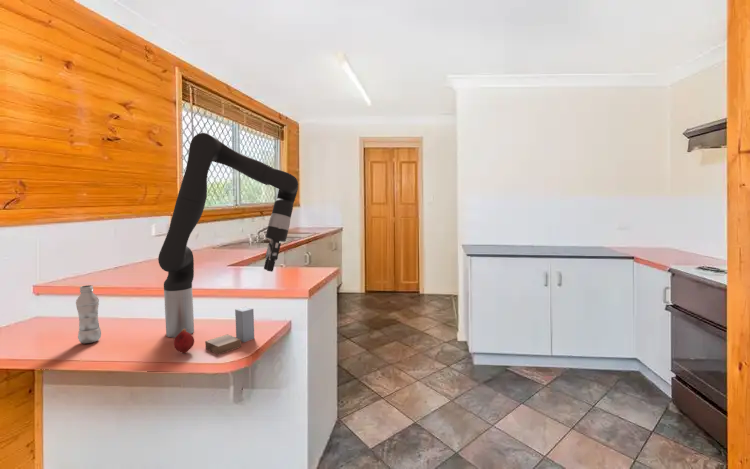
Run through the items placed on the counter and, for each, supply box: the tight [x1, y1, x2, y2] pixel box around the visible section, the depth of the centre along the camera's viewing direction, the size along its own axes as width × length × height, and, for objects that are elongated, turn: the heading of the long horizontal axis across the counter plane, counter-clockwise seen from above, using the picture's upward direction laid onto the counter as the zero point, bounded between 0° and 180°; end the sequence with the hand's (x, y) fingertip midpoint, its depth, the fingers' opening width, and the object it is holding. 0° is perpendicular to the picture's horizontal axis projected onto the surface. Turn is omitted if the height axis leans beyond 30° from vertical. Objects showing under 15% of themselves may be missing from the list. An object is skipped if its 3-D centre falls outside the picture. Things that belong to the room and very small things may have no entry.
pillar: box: [234, 306, 255, 343], centre depth 128 cm, size 4×4×11 cm
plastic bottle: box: [75, 284, 102, 344], centre depth 126 cm, size 6×7×20 cm
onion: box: [173, 329, 195, 354], centre depth 116 cm, size 6×6×8 cm
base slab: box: [205, 334, 242, 355], centre depth 121 cm, size 8×8×3 cm
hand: (268, 270), depth 131 cm, fingers open, 8 cm apart
